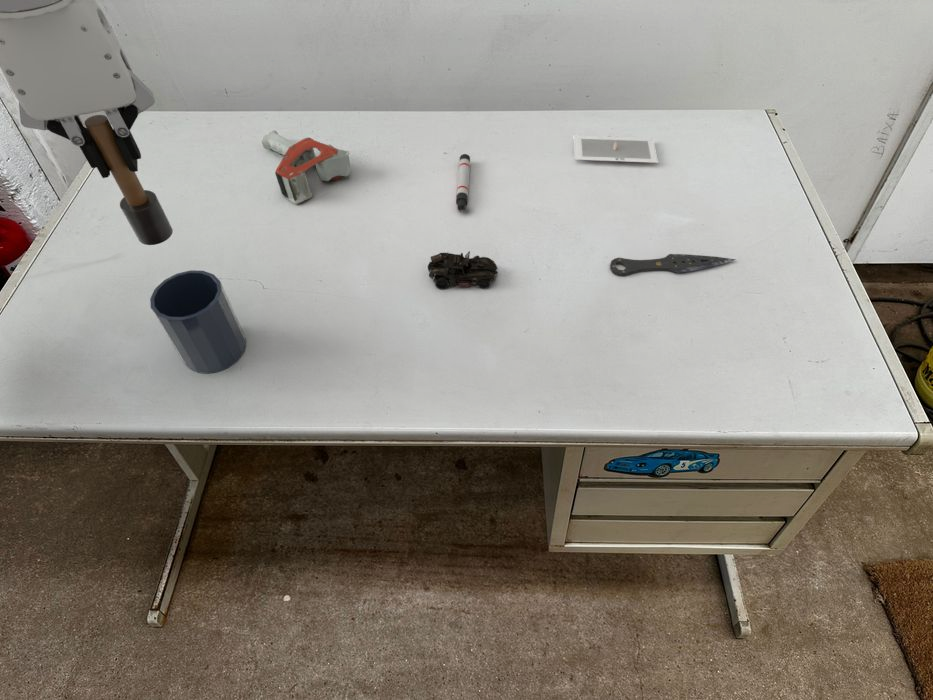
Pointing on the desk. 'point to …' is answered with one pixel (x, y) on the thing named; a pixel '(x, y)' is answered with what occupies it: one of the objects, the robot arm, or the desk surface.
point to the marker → (463, 181)
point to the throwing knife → (667, 263)
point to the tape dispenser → (305, 164)
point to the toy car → (461, 270)
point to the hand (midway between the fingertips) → (119, 166)
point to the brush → (130, 187)
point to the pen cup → (199, 321)
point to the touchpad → (614, 149)
